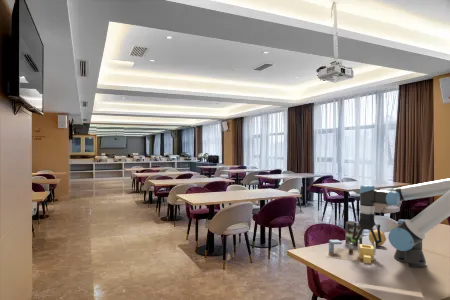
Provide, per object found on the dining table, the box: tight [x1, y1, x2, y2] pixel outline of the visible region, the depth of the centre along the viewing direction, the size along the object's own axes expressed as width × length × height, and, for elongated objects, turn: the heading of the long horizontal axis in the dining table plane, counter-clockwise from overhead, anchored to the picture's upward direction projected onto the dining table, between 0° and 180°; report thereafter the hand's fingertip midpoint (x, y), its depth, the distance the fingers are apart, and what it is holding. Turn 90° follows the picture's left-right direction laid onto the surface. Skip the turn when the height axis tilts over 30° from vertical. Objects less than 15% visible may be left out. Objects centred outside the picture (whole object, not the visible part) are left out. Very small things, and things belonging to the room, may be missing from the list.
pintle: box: [348, 243, 354, 252], centre depth 182 cm, size 2×2×5 cm
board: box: [327, 247, 376, 265], centre depth 177 cm, size 24×20×2 cm
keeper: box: [328, 239, 342, 253], centre depth 182 cm, size 6×5×6 cm
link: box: [359, 243, 375, 264], centre depth 171 cm, size 13×7×6 cm, turn 158°
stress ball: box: [368, 229, 387, 247], centre depth 200 cm, size 10×10×10 cm
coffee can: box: [344, 220, 363, 247], centre depth 201 cm, size 10×10×14 cm
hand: (366, 253), depth 173 cm, fingers open, 8 cm apart
